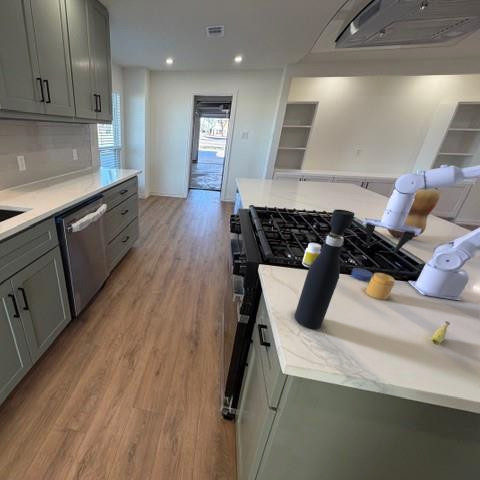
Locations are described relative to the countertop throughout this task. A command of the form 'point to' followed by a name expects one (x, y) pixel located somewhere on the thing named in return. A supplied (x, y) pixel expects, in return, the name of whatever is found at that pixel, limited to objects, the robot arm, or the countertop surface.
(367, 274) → the jar lid
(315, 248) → the supplement bottle
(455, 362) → the countertop surface
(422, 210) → the butternut squash
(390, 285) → the jam jar
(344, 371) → the countertop surface
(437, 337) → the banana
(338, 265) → the black water bottle
